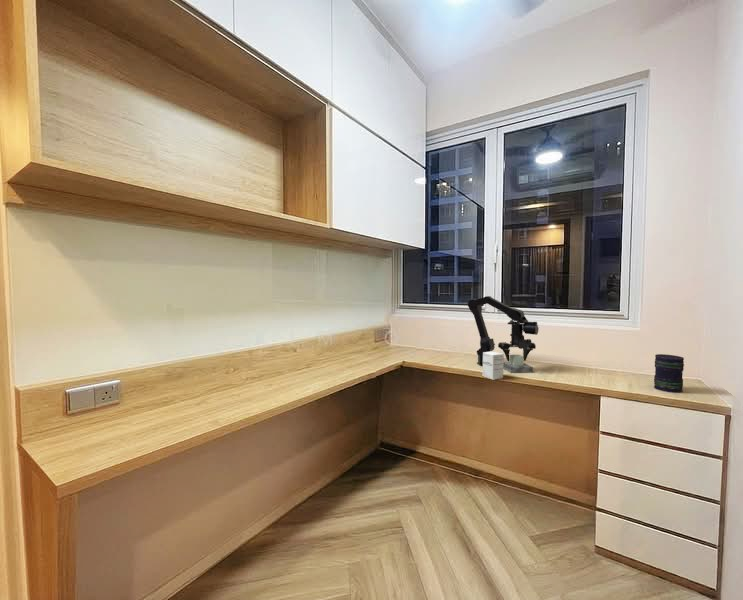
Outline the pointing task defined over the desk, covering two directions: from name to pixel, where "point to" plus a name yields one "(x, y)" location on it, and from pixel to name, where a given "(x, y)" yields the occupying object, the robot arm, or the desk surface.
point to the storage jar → (668, 373)
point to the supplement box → (493, 365)
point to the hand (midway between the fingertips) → (516, 361)
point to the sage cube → (516, 360)
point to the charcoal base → (517, 368)
